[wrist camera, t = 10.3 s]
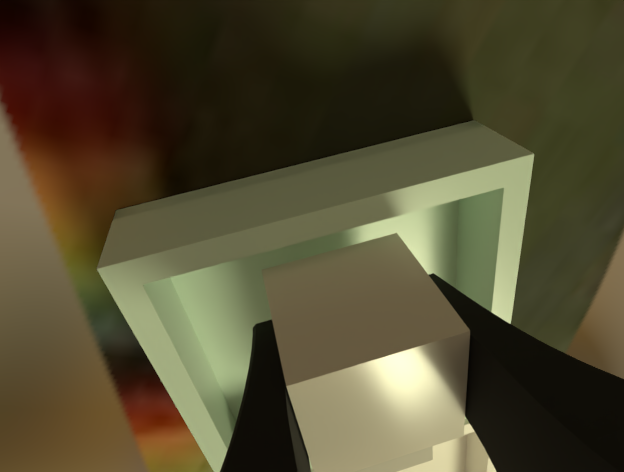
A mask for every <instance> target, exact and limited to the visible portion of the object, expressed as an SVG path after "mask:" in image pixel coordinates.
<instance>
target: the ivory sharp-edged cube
mask: <svg viewBox="0 0 624 472" xmlns="http://www.w3.org/2000/svg"><path fill="white" fill-rule="evenodd" d="M262 275H263V279H264V284H265V289H266V293H267V298H268V303H269V308H270V312H271V317H272V322H273V326H274V331H275V336H276V341H277V345H278V350H279V355H280V359H281V364H282V369H283V374H284V378H285V383H286V387H287V390H288V394H289V397H290V400H291V403H292V406H293V409H294V412H295V415H296V419H297V422H298V425H299V428H300V431H301V434H302V437H303V440H304V444H305V447H306V450H307V453H308V456H309V459H310V462H311V465H312V469H313V472H355V471H358V470H361V469H364V468H367V467H370V466H373V465H376V464H379V463H382V462H385V461H389V460H392V459H395V458H398V457H401V456H404V455H407V454H410V453H413V452H416V451H419V450H422V449H425V448H428V447H431V446H434V445H437V444H441V443H444V442H447V441H450V440H453V439H456V438H459V437H462V436H464V423H465V407H466V392H467V376H468V360H469V344H470V330H469V328H468V327H467V326H466V324H465V323H464V322H463V320H462V319H461V318H460V316H459V315H458V314H457V312H456V311H455V310H454V308H453V307H452V306H451V304H450V303H449V302H448V300H447V299H446V298H445V296H444V295H443V294H442V292H441V291H440V290H439V288H438V287H437V286H436V284H435V283H434V282H433V280H432V279H431V278H430V276H429V275H428V274H427V272H426V271H425V270H424V268H423V267H422V266H421V264H420V263H419V262H418V260H417V259H416V258H415V256H414V255H413V254H412V252H411V251H410V250H409V248H408V247H407V246H406V244H405V243H404V242H403V240H402V239H401V238H400V236H399V235H398V234H397V233H394V234H391V235H387V236H383V237H380V238H376V239H372V240H369V241H365V242H361V243H358V244H354V245H350V246H347V247H343V248H340V249H336V250H332V251H329V252H325V253H321V254H318V255H314V256H310V257H307V258H303V259H299V260H296V261H292V262H288V263H285V264H281V265H277V266H274V267H270V268H266V269H263V270H262Z"/></svg>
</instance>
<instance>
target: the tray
mask: <svg viewBox="0 0 624 472" xmlns="http://www.w3.org/2000/svg"><path fill="white" fill-rule="evenodd" d="M311 472H313V469H311ZM397 472H496V470H495V468H494V466H493V464H492V462H491V460H490V458H489V456H488V454H487V452H486V450H485V448H484V447H483V445H482V443H481V441H480V440H479V438H478V436H477V435H476V433H475V431H474V430H473V428H472V426H471V425H470V423H469V422H468V420H467V419H465V423H464V436H462V437H459V438H456V439H453V440H450V441H447V442H444V443H441V444H437V445H434V446H433V460H431V461H428V462H425V463H422V464H419V465H416V466H413V467H409V468H406V469H403V470H400V471H397Z"/></svg>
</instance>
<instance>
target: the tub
mask: <svg viewBox="0 0 624 472" xmlns="http://www.w3.org/2000/svg"><path fill="white" fill-rule="evenodd" d="M533 160H534V153H532V152H530V151H528V150H527V149H525V148H523V147H521V146H520V145H518V144H516V143H514V142H512V141H511V140H509V139H507V138H505V137H504V136H502V135H500V134H498V133H496V132H495V131H493V130H491V129H489V128H488V127H486V126H484V125H482V124H480V123H479V122H477V121H475V120H473V121H469V122H465V123H461V124H457V125H453V126H449V127H445V128H441V129H437V130H433V131H429V132H425V133H421V134H417V135H413V136H409V137H405V138H401V139H397V140H393V141H389V142H385V143H381V144H377V145H373V146H369V147H366V148H362V149H358V150H354V151H350V152H346V153H342V154H338V155H334V156H330V157H326V158H322V159H318V160H314V161H310V162H306V163H302V164H298V165H294V166H290V167H286V168H282V169H278V170H274V171H270V172H266V173H262V174H258V175H254V176H250V177H246V178H242V179H238V180H234V181H230V182H226V183H222V184H218V185H214V186H210V187H206V188H202V189H199V190H195V191H191V192H187V193H183V194H179V195H175V196H171V197H167V198H163V199H159V200H155V201H151V202H147V203H143V204H139V205H135V206H131V207H127V208H123V209H119V210H116V212H115V215H114V218H113V221H112V224H111V227H110V230H109V233H108V236H107V239H106V242H105V245H104V248H103V251H102V254H101V257H100V260H99V263H98V266H97V270H98V272H99V274H100V276H101V277H102V279H103V281H104V283H105V284H106V286H107V288H108V289H109V291H110V293H111V295H112V296H113V298H114V300H115V302H116V303H117V305H118V307H119V308H120V310H121V312H122V314H123V315H124V317H125V319H126V321H127V322H128V324H129V326H130V328H131V329H132V331H133V333H134V334H135V336H136V338H137V340H138V341H139V343H140V345H141V347H142V348H143V350H144V352H145V353H146V355H147V357H148V359H149V360H150V362H151V364H152V366H153V367H154V369H155V371H156V372H157V374H158V376H159V378H160V379H161V381H162V383H163V385H164V386H165V388H166V390H167V391H168V393H169V395H170V397H171V398H172V400H173V402H174V404H175V405H176V407H177V409H178V410H179V412H180V414H181V416H182V417H183V419H184V421H185V423H186V424H187V426H188V428H189V429H190V431H191V433H192V435H193V436H194V438H195V440H196V442H197V443H198V445H199V447H200V448H201V450H202V452H203V454H204V455H205V457H206V459H207V461H208V462H209V464H210V466H211V467H212V469H213V471H214V472H220V470H221V467H222V464H223V462H224V459H225V456H226V453H227V450H228V447H229V444H230V441H231V438H232V434H233V431H234V428H235V424H236V420H237V417H238V413H239V409H240V406H241V402H242V398H243V394H244V389H245V384H246V379H247V374H248V369H249V363H250V356H251V349H252V337H253V327H254V326H255V324H257V323H261V322H264V321H268V320H271V319H272V317H271V312H270V308H269V303H268V298H267V293H266V289H265V284H264V279H263V275H262V270H263V269H266V268H270V267H274V266H277V265H281V264H285V263H288V262H292V261H296V260H299V259H303V258H307V257H310V256H314V255H318V254H321V253H325V252H329V251H332V250H336V249H340V248H343V247H347V246H350V245H354V244H358V243H361V242H365V241H369V240H372V239H376V238H380V237H383V236H387V235H391V234H394V233H397V234H398V235H399V236H400V238H401V239H402V240H403V242H404V243H405V244H406V246H407V247H408V248H409V250H410V251H411V252H412V254H413V255H414V256H415V258H416V259H417V260H418V262H419V263H420V264H421V266H422V267H423V268H424V270H425V271H426V272H427V274H428V275H429V274H432V273H434V274H435V275H437V276H438V277H440V278H441V279H443V280H444V281H446V282H447V283H449V284H450V285H451V286H453V287H454V288H456V289H457V290H459V291H460V292H462V293H463V294H465V295H466V296H467V297H469V298H470V299H472V300H473V301H475V302H476V303H478V304H479V305H481V306H482V307H484V308H486V309H487V310H489V311H490V312H492V313H493V314H495V315H497V316H498V317H500V318H501V319H503V320H505V321H506V322H508V323H510V324H511V317H512V310H513V303H514V296H515V289H516V282H517V274H518V267H519V260H520V253H521V246H522V238H523V231H524V224H525V217H526V210H527V203H528V195H529V188H530V181H531V174H532V167H533ZM465 419H466V417H465ZM309 462H310V459H309ZM310 468H311V469H312V465H311V462H310Z"/></svg>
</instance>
